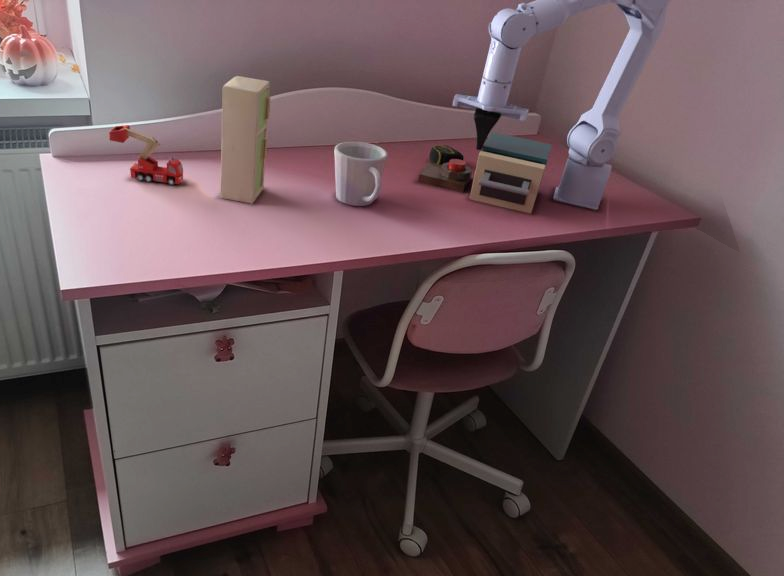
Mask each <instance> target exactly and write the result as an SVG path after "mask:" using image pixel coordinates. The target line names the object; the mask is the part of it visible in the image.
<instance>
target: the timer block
mask: <svg viewBox="0 0 784 576" xmlns="http://www.w3.org/2000/svg"><path fill="white" fill-rule="evenodd" d="M448 166H449V162H448V163H443V164H442V165H440V164H435V163H432V162H431V161H429V162H428V163H427V164H426V165H425V166H424V168H423V169H422V171H421V172H420V173H419V175H418V180H417V182H418V183H421V184H425V185H429V186H433V187H437V188H440V189H446V190H451V191H455V192H458V193H464V192H465V190H466V188H467V186H468V184H469V183H470V181H471V178H472V174H473V173H472V172H473V169H472V168H471V167H470V166H468V165H466V167H465V171H462V172H459V171H453V170H450V169H448Z"/></svg>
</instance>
